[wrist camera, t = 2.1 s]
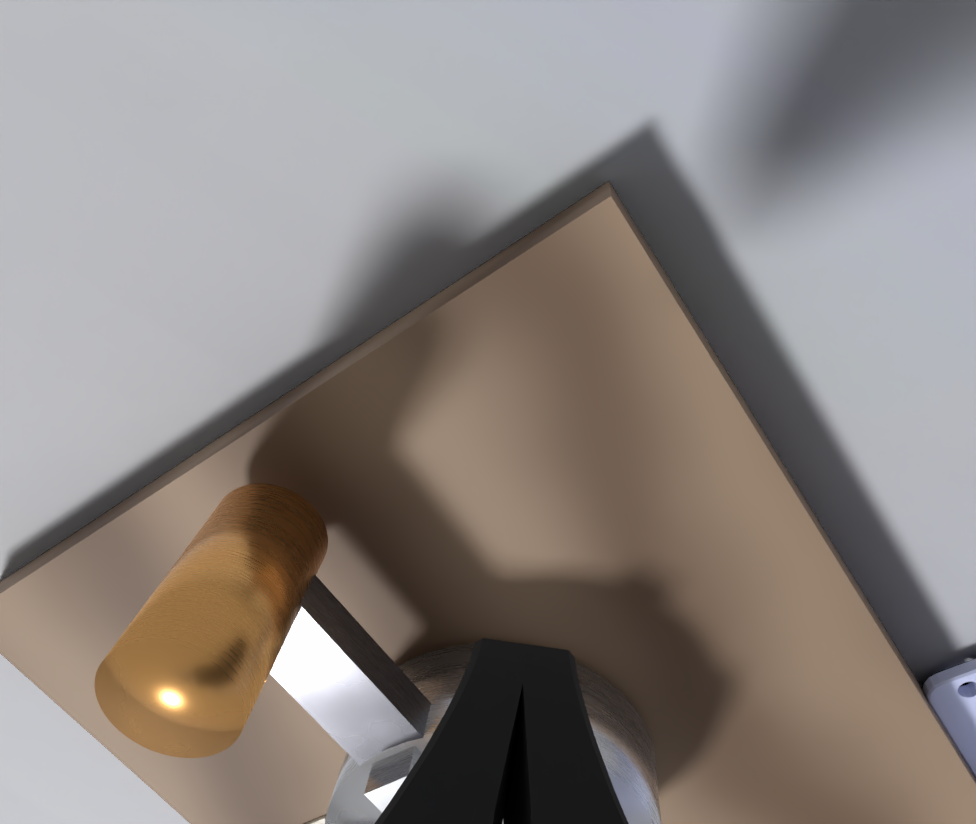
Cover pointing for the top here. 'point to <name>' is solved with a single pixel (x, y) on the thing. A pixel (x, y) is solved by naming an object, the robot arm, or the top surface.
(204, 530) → the crank handle wheel
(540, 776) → the robot arm
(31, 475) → the top surface
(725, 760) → the plain tan brown board
